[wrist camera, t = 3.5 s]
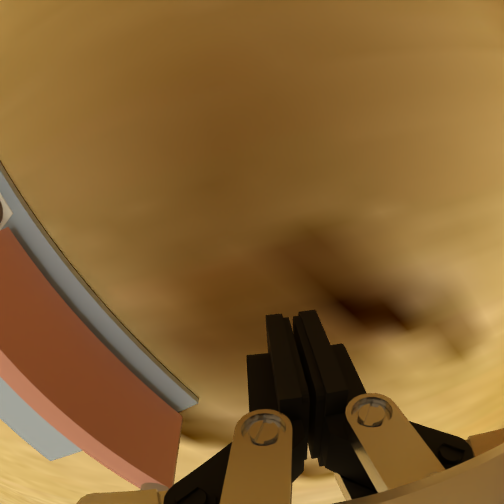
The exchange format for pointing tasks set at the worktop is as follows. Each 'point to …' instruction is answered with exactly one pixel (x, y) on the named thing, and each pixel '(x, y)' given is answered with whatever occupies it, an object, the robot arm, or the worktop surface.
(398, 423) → the robot arm
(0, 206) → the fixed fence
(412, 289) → the worktop surface
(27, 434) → the card
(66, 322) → the bar
